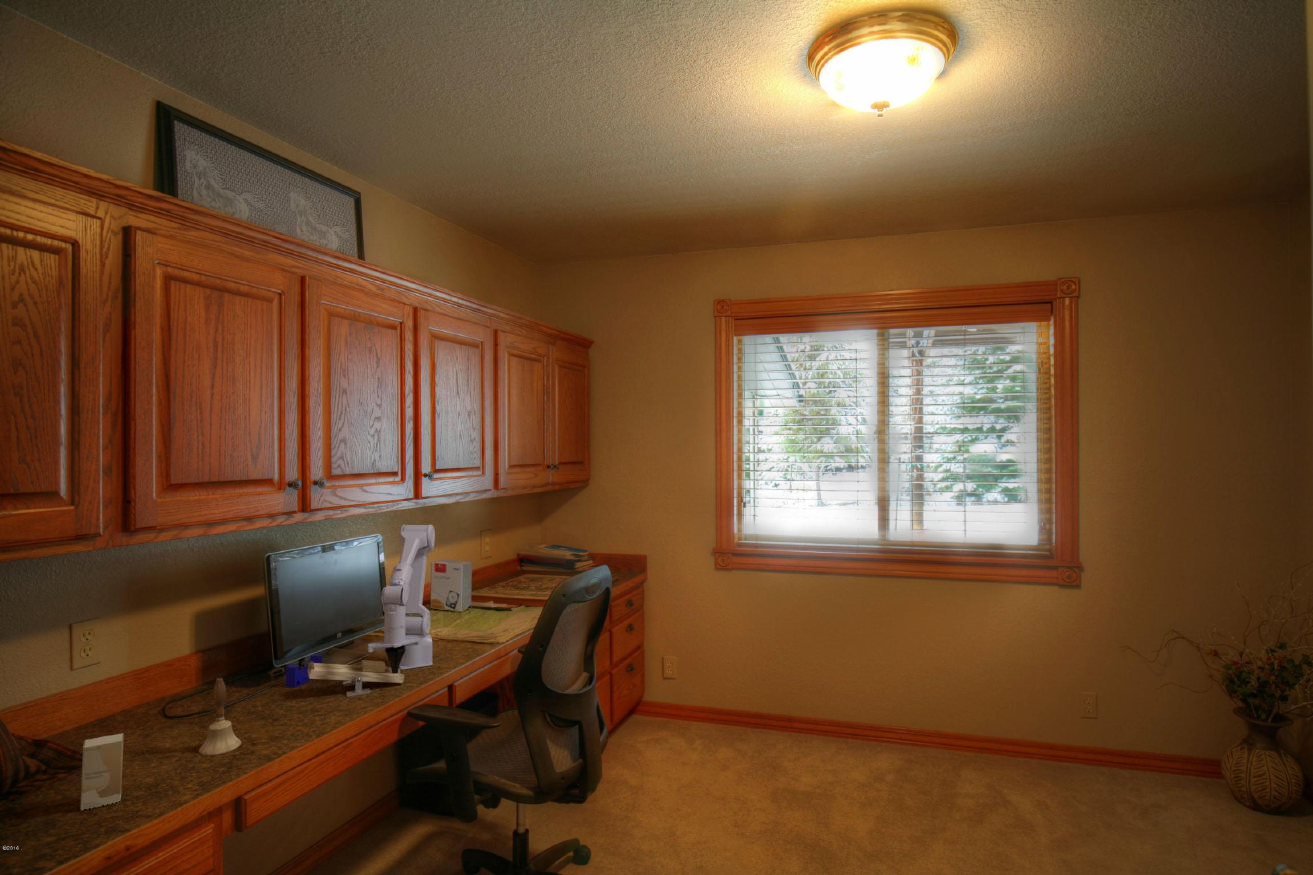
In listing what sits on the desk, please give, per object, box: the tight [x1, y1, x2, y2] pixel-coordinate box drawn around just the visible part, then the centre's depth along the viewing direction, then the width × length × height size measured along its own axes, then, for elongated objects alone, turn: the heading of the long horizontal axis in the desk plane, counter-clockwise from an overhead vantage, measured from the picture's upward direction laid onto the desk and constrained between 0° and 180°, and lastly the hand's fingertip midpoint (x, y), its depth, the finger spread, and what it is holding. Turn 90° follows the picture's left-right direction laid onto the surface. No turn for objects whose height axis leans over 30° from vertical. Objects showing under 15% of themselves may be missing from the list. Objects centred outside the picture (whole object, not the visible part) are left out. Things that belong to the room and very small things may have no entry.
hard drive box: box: [430, 559, 473, 611], centre depth 290 cm, size 16×8×20 cm, turn 72°
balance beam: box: [308, 661, 406, 684], centre depth 198 cm, size 25×7×3 cm, turn 120°
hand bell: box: [198, 677, 242, 756], centre depth 160 cm, size 8×8×16 cm
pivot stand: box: [342, 675, 371, 698], centre depth 198 cm, size 6×11×5 cm, turn 30°
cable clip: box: [285, 653, 323, 689], centre depth 205 cm, size 12×4×6 cm, turn 170°
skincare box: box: [79, 732, 125, 811], centre depth 136 cm, size 6×4×12 cm
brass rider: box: [359, 659, 387, 673], centre depth 200 cm, size 6×4×3 cm
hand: (394, 672), depth 203 cm, fingers closed
